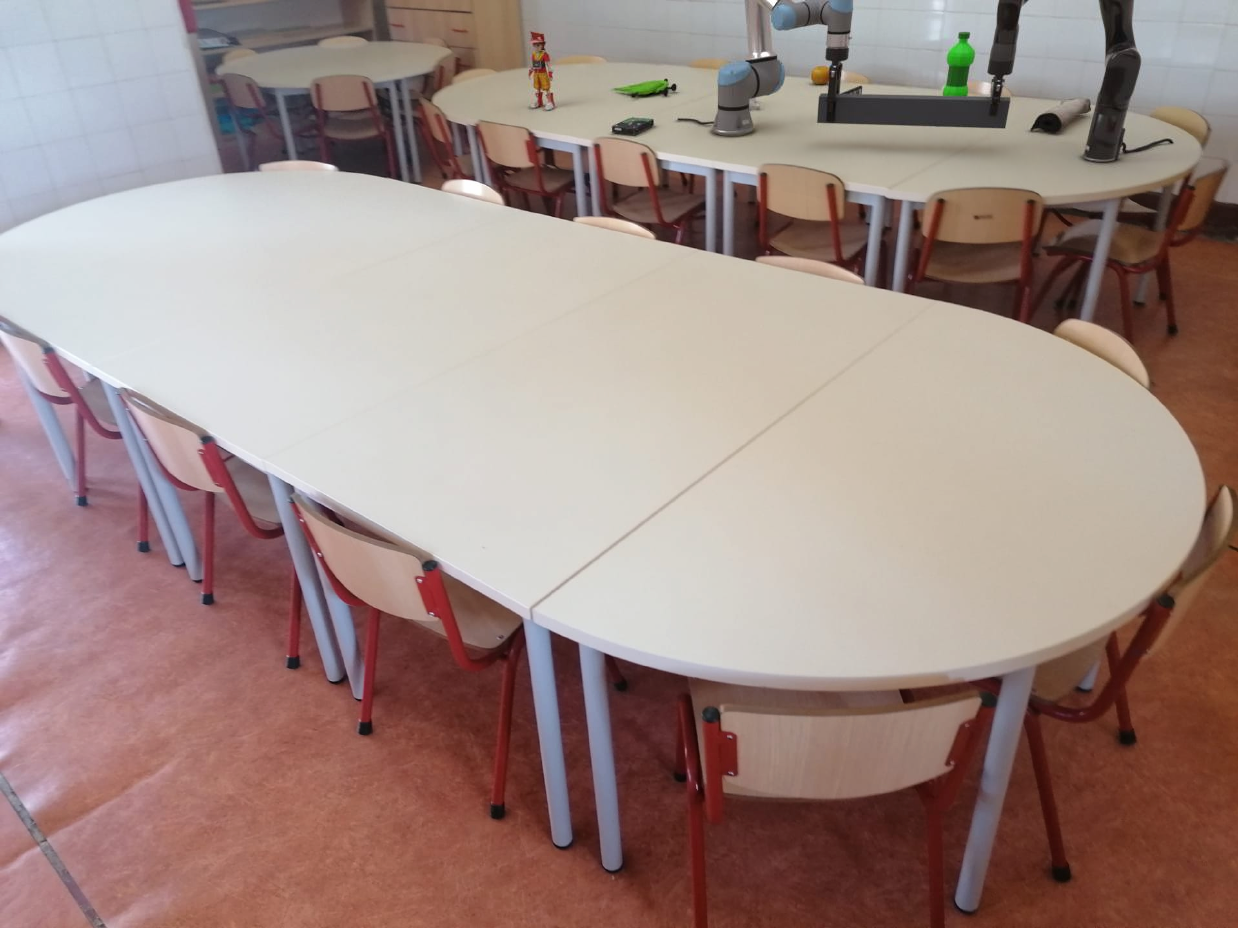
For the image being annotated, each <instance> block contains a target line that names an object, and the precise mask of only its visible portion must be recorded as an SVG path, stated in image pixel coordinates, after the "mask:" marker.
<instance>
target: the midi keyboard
mask: <svg viewBox="0 0 1238 928" xmlns="http://www.w3.org/2000/svg"><path fill="white" fill-rule="evenodd" d="M840 94H863V85H858V86H856V87H855V86H854V87H853V88H851V89H847V90H846V91H843V92H840Z"/></svg>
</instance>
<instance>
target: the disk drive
mask: <svg viewBox="0 0 1238 928" xmlns="http://www.w3.org/2000/svg"><path fill="white" fill-rule="evenodd" d="M653 126H655V121H654V118H645V117H633V116H632V117H628V118H627V119H624V120H621V121H619V122H618V123H615V124H613V125H612V126H611V132H612V133H614V134H620V135H629V136H630V135H631V136H635V135H638V134H639V133H642V132H644V131H646V130H648V129H651V128H653Z"/></svg>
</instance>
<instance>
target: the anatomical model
mask: <svg viewBox="0 0 1238 928" xmlns="http://www.w3.org/2000/svg"><path fill="white" fill-rule="evenodd" d="M756 102H757V97H756V98H751V99H749V110H750V109H760V108H761V107H762V104H758V103H756Z"/></svg>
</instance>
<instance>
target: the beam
mask: <svg viewBox="0 0 1238 928" xmlns="http://www.w3.org/2000/svg"><path fill="white" fill-rule="evenodd" d="M827 96H828V92H827V93H826V92H825V93H824V92H823V93H822V92H821V93H820V94H819V95H818V103H817V119H816V123H817V124H836V125H837V124H838V125H874V126H903V127H904V126H905V127H906V126H908V127H911V126H912V127H938V128H939V127H941V128H943V127H944V128H971V129H973V128H974V129H975V128H979V129H1006V126H1007V122H1008V115H1009V110H1010V106H1011V97H1010V96H1001V97H1000V102H999V104H998V109H997V114H996V116H990V115H989V112H990V107H991V99H992V97H990V96H972V95H970V96H969V95H967V96H943V95H925V94H921V95H919V94H918V95H917V94H873V93H871V94H870V93H862V94H841V93H839V94H836V101H835V102H836V108H835V120H834V122H826V117H827V105H828V102H826V100H827ZM994 99H998V97H994Z"/></svg>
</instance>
